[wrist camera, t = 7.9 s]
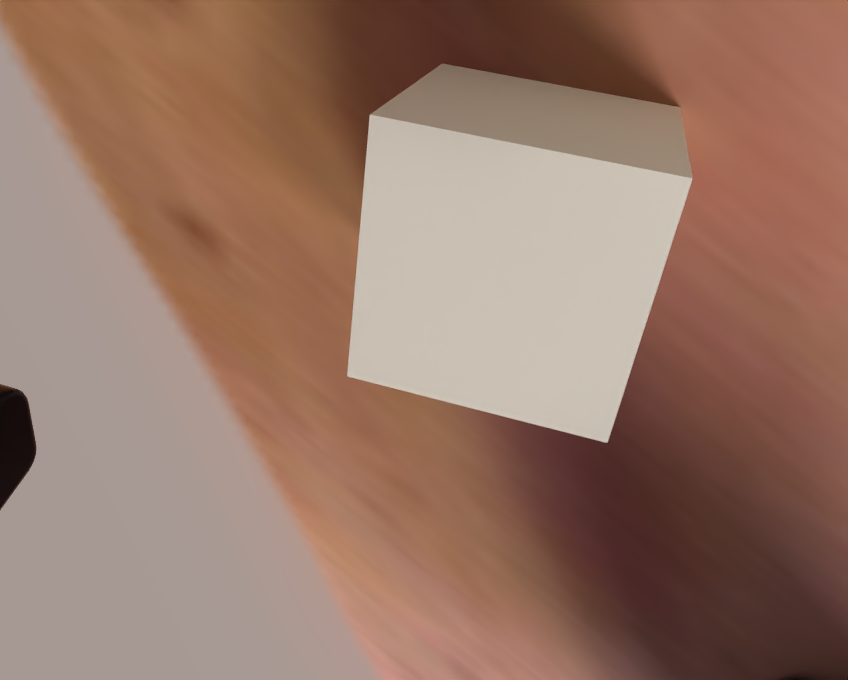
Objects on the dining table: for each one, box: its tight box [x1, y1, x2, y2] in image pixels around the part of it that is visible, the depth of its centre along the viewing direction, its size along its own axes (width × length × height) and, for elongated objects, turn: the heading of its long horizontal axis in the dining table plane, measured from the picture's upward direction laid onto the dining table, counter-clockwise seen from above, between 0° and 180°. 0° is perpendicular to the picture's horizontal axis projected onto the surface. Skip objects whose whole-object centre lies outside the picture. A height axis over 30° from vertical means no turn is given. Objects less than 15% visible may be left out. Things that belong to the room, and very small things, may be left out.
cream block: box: [347, 64, 693, 443], centre depth 15 cm, size 5×5×5 cm
